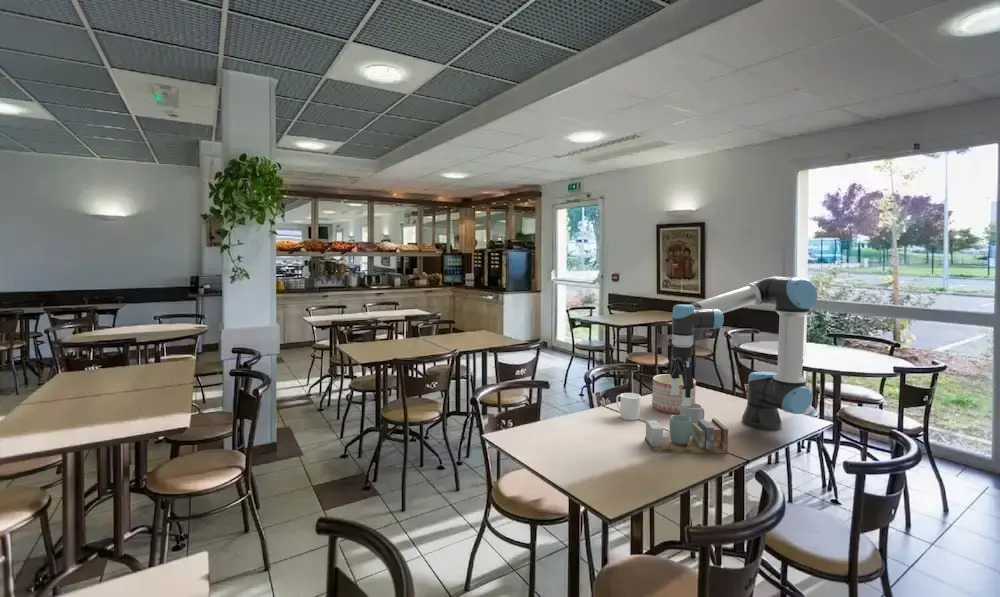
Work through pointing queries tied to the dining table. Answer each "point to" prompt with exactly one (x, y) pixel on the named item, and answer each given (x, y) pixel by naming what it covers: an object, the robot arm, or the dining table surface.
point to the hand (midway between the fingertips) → (680, 400)
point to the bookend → (654, 433)
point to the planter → (668, 394)
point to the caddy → (699, 439)
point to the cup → (680, 429)
